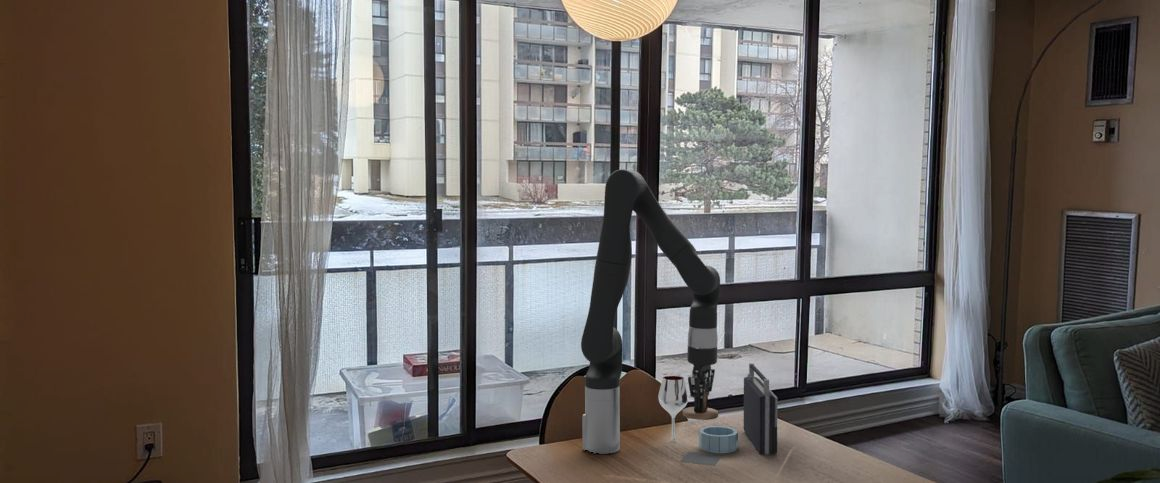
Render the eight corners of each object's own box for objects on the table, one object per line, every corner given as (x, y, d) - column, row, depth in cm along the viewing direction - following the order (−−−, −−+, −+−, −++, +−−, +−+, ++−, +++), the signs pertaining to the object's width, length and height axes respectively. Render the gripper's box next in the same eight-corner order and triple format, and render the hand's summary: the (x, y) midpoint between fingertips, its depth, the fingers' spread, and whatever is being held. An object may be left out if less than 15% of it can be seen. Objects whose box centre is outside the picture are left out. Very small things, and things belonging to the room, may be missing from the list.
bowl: (695, 452, 224) (695, 434, 224) (704, 442, 234) (704, 424, 233) (733, 456, 221) (733, 437, 220) (740, 446, 230) (740, 428, 230)
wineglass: (694, 443, 233) (694, 378, 232) (671, 448, 228) (671, 382, 227) (674, 436, 240) (674, 373, 239) (652, 441, 235) (652, 377, 234)
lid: (711, 421, 212) (711, 398, 211) (677, 416, 216) (678, 393, 216) (723, 413, 220) (723, 390, 219) (690, 408, 224) (691, 386, 224)
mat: (679, 463, 215) (679, 461, 215) (688, 453, 224) (688, 451, 224) (714, 467, 212) (714, 465, 212) (722, 457, 220) (722, 455, 220)
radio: (779, 456, 221) (780, 380, 220) (759, 456, 221) (759, 380, 220) (761, 431, 245) (761, 362, 244) (743, 431, 245) (743, 362, 244)
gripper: (698, 339, 225) (696, 403, 226) (678, 347, 212) (676, 415, 213) (725, 341, 221) (723, 407, 222) (706, 350, 209) (705, 419, 210)
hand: (700, 410), depth 218 cm, fingers closed on lid, 2 cm apart
